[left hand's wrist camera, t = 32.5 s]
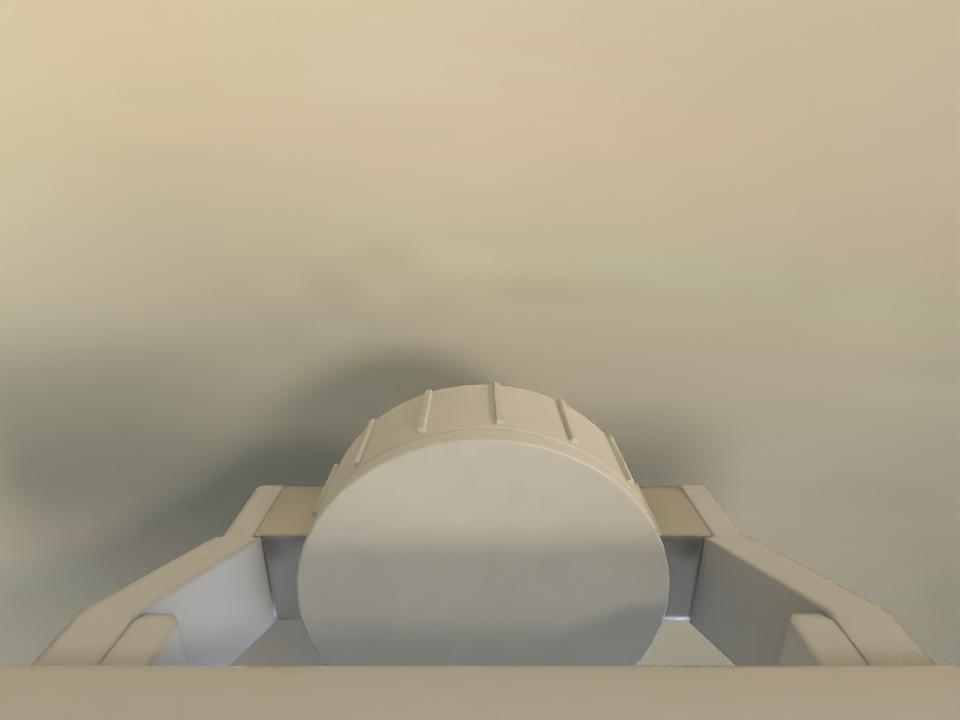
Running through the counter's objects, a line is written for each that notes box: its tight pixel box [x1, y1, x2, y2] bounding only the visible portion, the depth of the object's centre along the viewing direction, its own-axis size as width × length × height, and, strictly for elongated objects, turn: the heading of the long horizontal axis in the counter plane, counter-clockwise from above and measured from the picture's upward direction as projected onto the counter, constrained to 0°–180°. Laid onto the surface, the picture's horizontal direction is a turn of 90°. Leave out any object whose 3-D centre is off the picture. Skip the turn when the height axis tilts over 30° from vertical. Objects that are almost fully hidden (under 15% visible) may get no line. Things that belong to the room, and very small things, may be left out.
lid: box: [296, 382, 670, 666], centre depth 9 cm, size 6×6×2 cm
